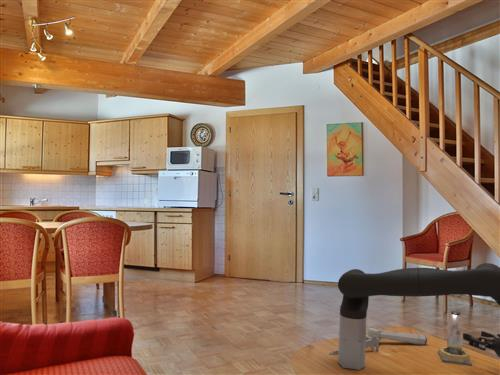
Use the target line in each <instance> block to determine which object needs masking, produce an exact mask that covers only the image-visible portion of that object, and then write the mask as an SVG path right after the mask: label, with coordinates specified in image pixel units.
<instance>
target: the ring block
mask: <svg viewBox="0 0 500 375" xmlns="http://www.w3.org/2000/svg"><path fill="white" fill-rule="evenodd" d="M437 354H438V356H439V358H440V360H441V363H448V364H455V365H463V366H469V365H470V367H472V366H473V363H472V361H471V360H470V359H471V355H470V353H469V352H468V350H465V349H462V355H453V354H450V353H447V345H446V346H441V347H439V348H438V350H437Z"/></svg>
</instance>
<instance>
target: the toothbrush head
mask: <svg viewBox="0 0 500 375" xmlns="http://www.w3.org/2000/svg"><path fill="white" fill-rule="evenodd" d="M374 335H375V336H376V338H378V342H379V343H380V342H381V341H382V340H387V341H388V340H389V341H395V342H400V343H401V342H402V343H407V344H413V345H416V346H418V345H420V346H421V345H422V346H426V345H427V344H428V336H426V335H425V334H420V333H419V334H418V333H417V332H415V333H410V332H409V333H408V332H401V331H400V332H399V331H390V330H379V329H378V328H373V327H370V328H369V329H368V331H367V333H366V340H369V339H372V336H373V337H374ZM373 345H374V346H375V344H373Z"/></svg>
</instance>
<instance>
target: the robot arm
mask: <svg viewBox="0 0 500 375" xmlns="http://www.w3.org/2000/svg"><path fill="white" fill-rule="evenodd" d="M337 282H338V283H337V287H338V290H339V292H340V293H341V294H342V301H341V304H340V306H339V326H338V327H339V328H338V333H339V334H338V349H339V354H338V357H337V358H338V359H337V360H338V361H337V363H338V364H339V365H340V366H341V368H342V369H343V368H344V369H351V370H357V371H361V369H363V368H365V366H366V348H365V347H366V334H367V317H368V316H367V313H368V309H369V308H368V307H369V301H370V300H369V299H370V297H373V296H374V297H375V296H385V297H387V296H388V297H411V298H412V297H414V298H415V297H437V296H450V295H451V296H452V295H453V296H454V295H462V296H463V295H465V296H478V297H485V298H486V297H490V298H491V299H492V300H493V301H495V303H497V304H498V306H499V307H500V266H498V265H496V264H494V263H490V262H489V263H488V262H486V263H485V262H484V263H481V264H479V265H477V266H475V268H471V269H461V270H448V269H443V268H442V269H441V268H433V267H407V268H400V269H394V270H389V271H384V272H379V273H366V272H365V271H363V270H361V269H357V268H353V269H350V270H347V271H345V272H344V273H343V274H342V275H341V276H340V277H339V279H338V281H337ZM462 340H464V341H466V342H468V345H469V346H471V347H473V348H476V349H479V350H481V351H486V349H488V350H489V351H492V352H493V351H494V352H495V354H496V355H497V357H498V358H500V333H497V334H495V333H489V332H487V331H484V330H482V331H481V332H480V335H479V336H474V335H471V334H469V333H466V332H463V336H462Z"/></svg>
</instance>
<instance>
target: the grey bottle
mask: <svg viewBox="0 0 500 375" xmlns="http://www.w3.org/2000/svg"><path fill="white" fill-rule="evenodd" d="M447 315H448V316H447V341H446V342H447V344H446V346H447V353H450V354H453V355H462V350H463V333H464V332H463V331H464V330H463V329H464V314H463V313H461V312H460V311H456V310H451V311H449V312H448V313H447Z"/></svg>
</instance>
